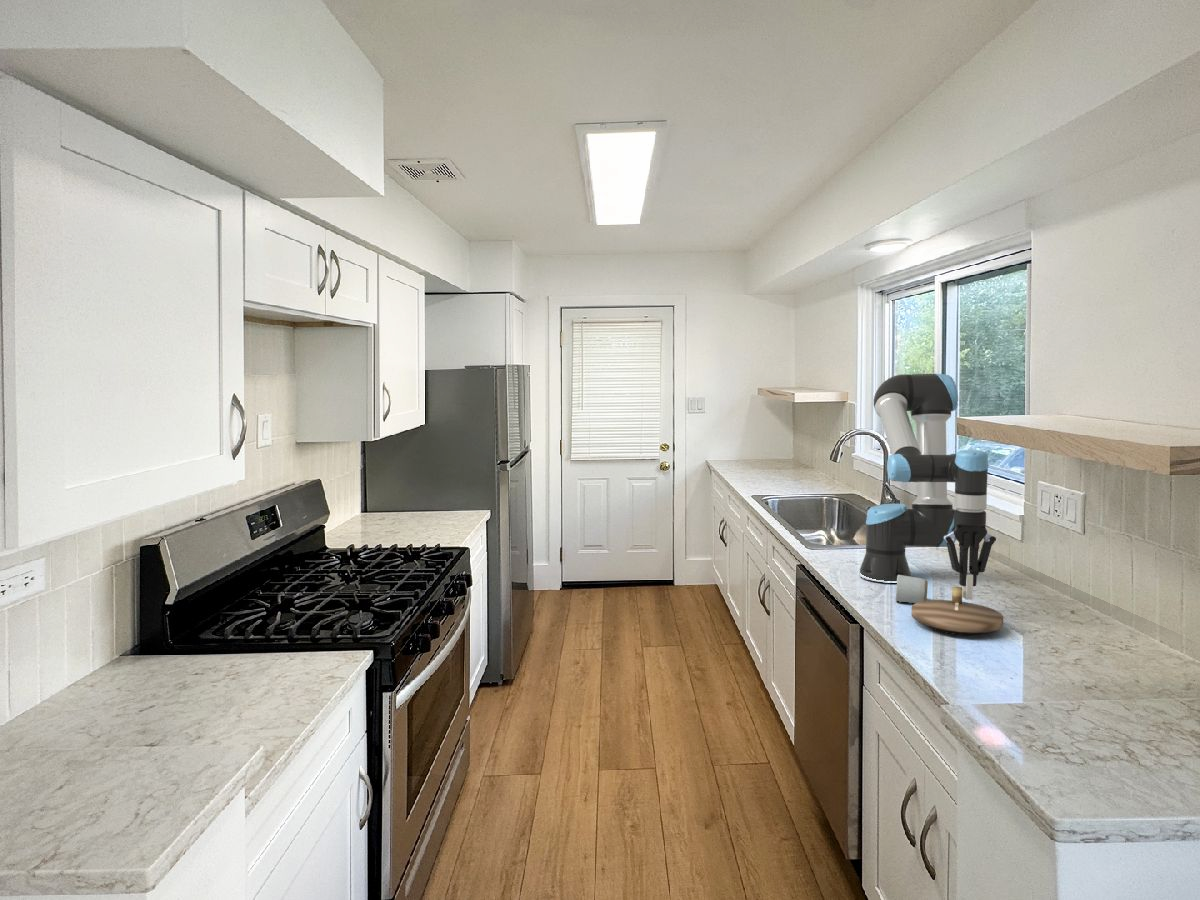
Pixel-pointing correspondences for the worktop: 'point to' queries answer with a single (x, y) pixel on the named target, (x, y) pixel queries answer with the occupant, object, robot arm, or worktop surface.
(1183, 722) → the worktop surface
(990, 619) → the disc
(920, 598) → the ceramic mug
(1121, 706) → the worktop surface
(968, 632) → the turntable base
